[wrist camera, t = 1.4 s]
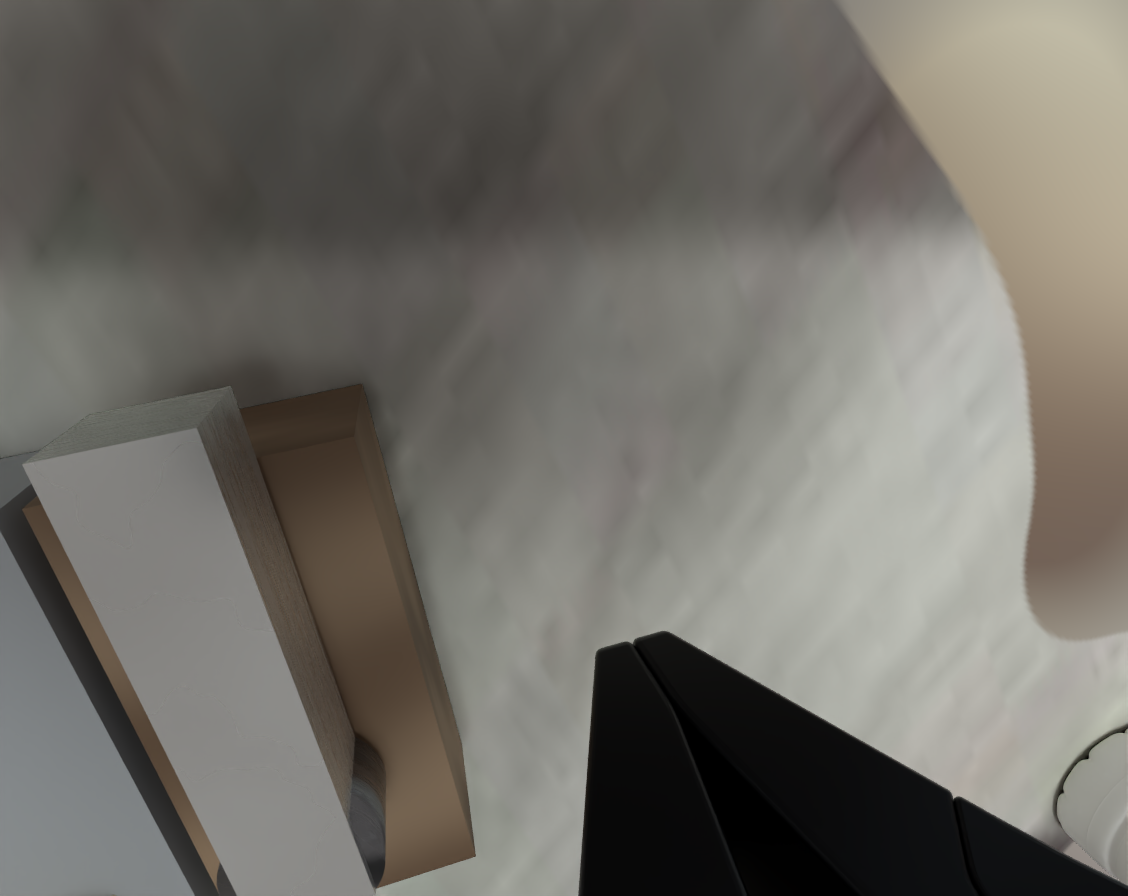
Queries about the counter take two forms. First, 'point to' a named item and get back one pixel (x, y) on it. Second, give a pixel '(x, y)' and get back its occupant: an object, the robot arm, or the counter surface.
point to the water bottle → (1100, 805)
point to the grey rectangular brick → (72, 746)
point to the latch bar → (219, 641)
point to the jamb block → (337, 623)
